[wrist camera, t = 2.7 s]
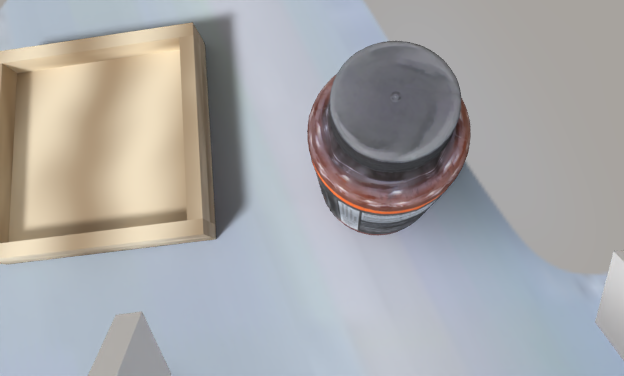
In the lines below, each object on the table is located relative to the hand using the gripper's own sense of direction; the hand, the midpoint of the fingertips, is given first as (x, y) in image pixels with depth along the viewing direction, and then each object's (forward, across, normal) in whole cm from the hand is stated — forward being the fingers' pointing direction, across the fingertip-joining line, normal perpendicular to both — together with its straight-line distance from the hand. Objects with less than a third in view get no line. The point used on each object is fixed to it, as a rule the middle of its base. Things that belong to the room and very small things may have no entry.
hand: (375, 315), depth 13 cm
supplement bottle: (+12, +2, -3) cm, 12 cm away
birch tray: (+15, -13, 0) cm, 20 cm away
